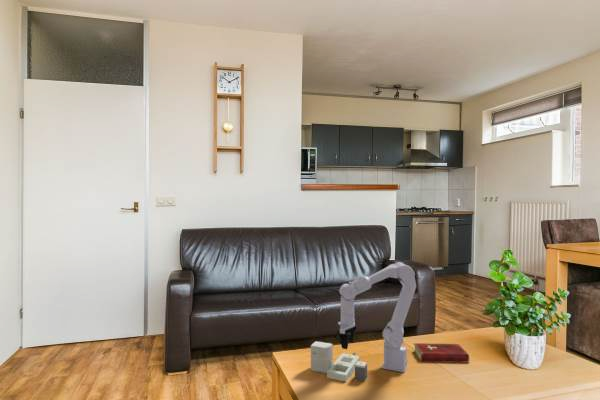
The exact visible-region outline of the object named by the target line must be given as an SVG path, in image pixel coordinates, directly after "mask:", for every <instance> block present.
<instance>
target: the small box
mask: <svg viewBox="0 0 600 400" xmlns="http://www.w3.org/2000/svg"><path fill="white" fill-rule="evenodd" d="M333 345H334V344H333V343H331V342H323V341H314V342H313V343H312V344H310V371H313V372H318V373H322V374H327V371H328V370H329V369H330V367H331V366H332V365H333V364H334V361H333V359H334V355H333V354H334V353H333V352H334V348H333V347H334V346H333Z"/></svg>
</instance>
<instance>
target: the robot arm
mask: <svg viewBox="0 0 600 400" xmlns="http://www.w3.org/2000/svg"><path fill="white" fill-rule="evenodd" d="M415 276H416V273H415V271H414V269H413V268H412V267H411V266H410V265H407V264H405V263H404V262H402V261H396V262H394V263H391V264H389V265H388V266H386V267H384V268H383V269H380V270H378V271H377V272H375V273H373V274H371V275H370V276H365V275H363V276H362V275H360V276H358V278H356V279H354V280H352V281H348V283H343V284H342V285H341V286H340V287H339V290H338V292H339V294H340V295H341V296H340V321H338V322H337V324H338V326H339V327H340V328H339V330H337V331H336V335H337V337H338V338H339V342H340V345H341V348H342V349H344V350H348V347H349V343H350V344H351V343H352V344H353V342H354V339H355V333H356V331H357V330H358V329H357V328H358V324H356V323H355V321H356V319H355V298H356V296H357V295H359V294H361V293H363V292H366V291H368V290H370V289H371V287H372V285H374V284H376V283H378V282H382V281H383V280H385V279H388V278H393V279H398V281H399V282H400V284H401V285H402V287H401V289H400V293H399V296H398V299H397V302H396V305H395V308H394V312H393V313H392V316H391V320H389V322H388V323H387V325H386V327H385V328H384V329H383V330H382V335H381V336H382V338H383V339H384V343H383V363H382V364H381V369H384V370H390V371H393V372H400V373H405V371H406V369H407V366H408V362H407V361H408V360H407V359H408V357H407V356H408V353H407V351H408V350H407V347H405V346H403V343H404V333H405V331H404V324H405V322H406V318H407V315H408V313H409V310H410V307H411V304H412V301H413V298H414V295H415V291H416V289H417V282H416V278H415Z"/></svg>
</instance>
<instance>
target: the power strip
mask: <svg viewBox="0 0 600 400" xmlns="http://www.w3.org/2000/svg"><path fill="white" fill-rule="evenodd" d="M360 358H361V357H360V355H357V353H356V352H353V353H352V354H350V353H343V352H342V353H341V354H340V355H339V357H337V359H335V361H334V362H333V365H332V366H331V367H330V369H329V370H328V371H327V373H326V375H327V376H326V378H327V379H331V380H337V381H339V382H340V381H341V382H346V383H347V381H348V380H349V379H350V378H351V376H352V374H353V373H354V372H355V364H356V363H357V361H361V360H360Z"/></svg>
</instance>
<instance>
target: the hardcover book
mask: <svg viewBox="0 0 600 400" xmlns="http://www.w3.org/2000/svg"><path fill="white" fill-rule="evenodd" d="M413 345H414V352H415V353H416V355H417V356H418V358H419V359H420V360H419V361H420V362H443V361H458V362H457V363H460V362H459V361H469V362H470V353H469V352H467V350H466V349H465V348H464V347H463V346H462V345H461V344H459V343H432V342H431V343H430V342H429V343H427V342H426V343H425V342H424V343H423V342H422V343H421V342H413Z"/></svg>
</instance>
